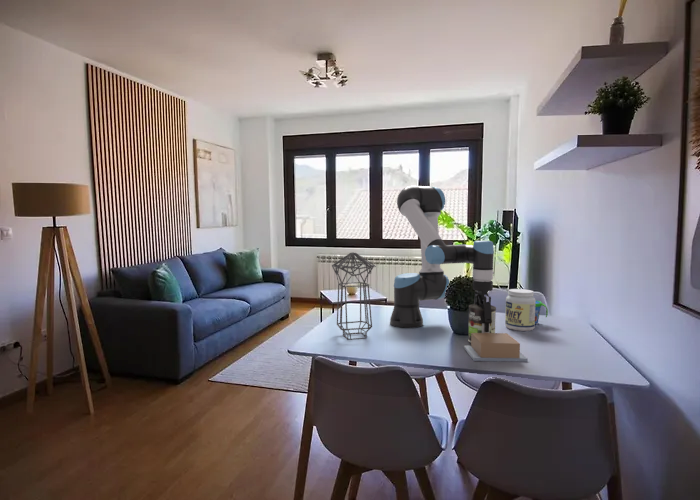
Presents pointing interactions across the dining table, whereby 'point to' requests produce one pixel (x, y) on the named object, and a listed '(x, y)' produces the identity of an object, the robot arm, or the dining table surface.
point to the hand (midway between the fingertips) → (481, 336)
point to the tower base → (494, 347)
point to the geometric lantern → (353, 286)
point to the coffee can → (479, 320)
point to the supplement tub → (520, 310)
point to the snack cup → (537, 310)
